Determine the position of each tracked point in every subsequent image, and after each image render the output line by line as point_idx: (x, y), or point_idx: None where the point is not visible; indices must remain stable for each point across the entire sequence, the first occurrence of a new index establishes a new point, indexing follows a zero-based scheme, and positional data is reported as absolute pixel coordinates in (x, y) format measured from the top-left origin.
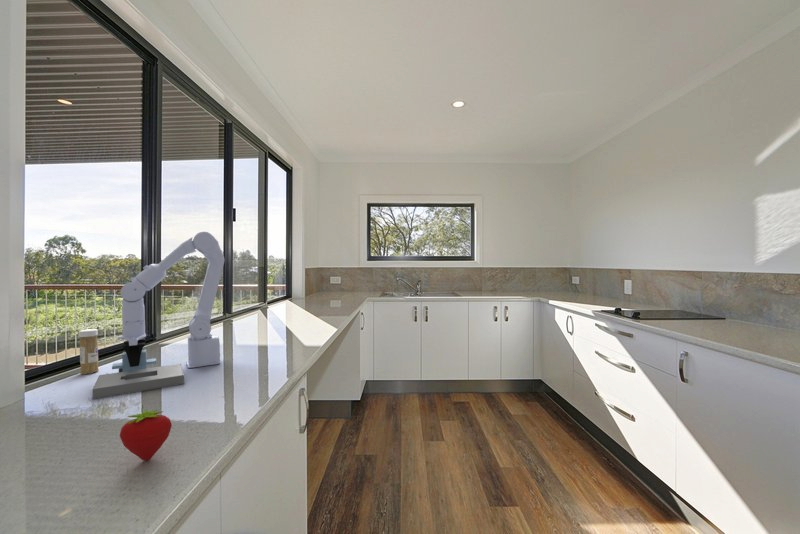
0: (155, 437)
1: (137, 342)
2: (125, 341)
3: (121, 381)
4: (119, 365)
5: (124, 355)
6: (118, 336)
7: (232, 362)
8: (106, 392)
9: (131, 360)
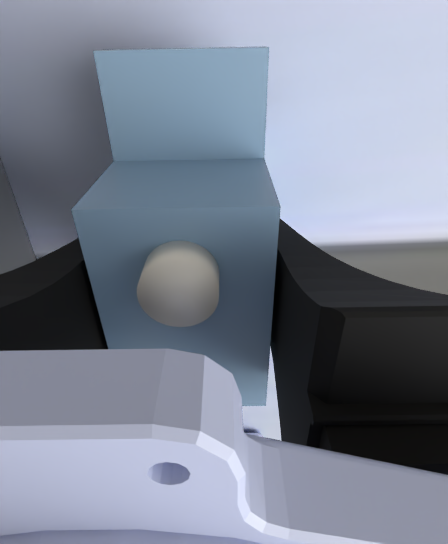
0: None
1: (292, 442)
2: (423, 336)
3: None
4: (121, 132)
5: (84, 229)
6: (69, 444)
7: None
8: None
9: None
